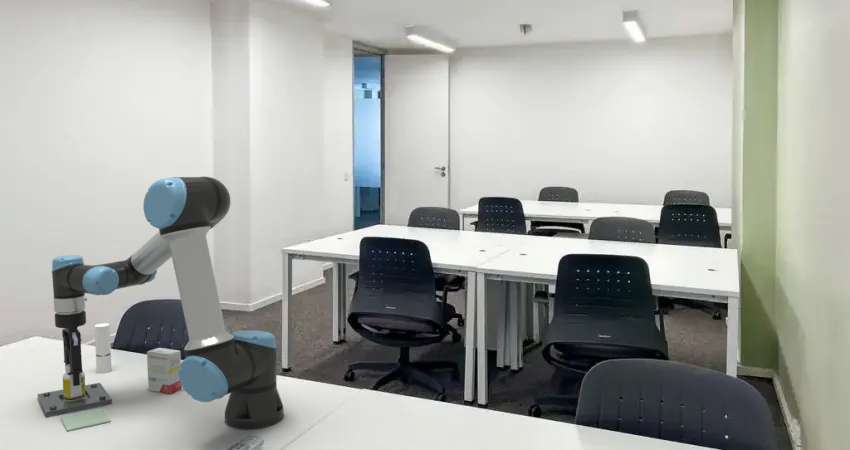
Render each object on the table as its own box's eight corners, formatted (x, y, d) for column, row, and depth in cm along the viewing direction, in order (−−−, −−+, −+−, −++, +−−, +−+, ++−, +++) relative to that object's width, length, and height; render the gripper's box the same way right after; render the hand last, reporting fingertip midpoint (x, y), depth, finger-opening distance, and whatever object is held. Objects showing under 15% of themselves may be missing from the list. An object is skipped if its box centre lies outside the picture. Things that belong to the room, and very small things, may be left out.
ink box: (182, 388, 190) (181, 349, 189) (171, 394, 186) (169, 354, 184) (159, 384, 193) (158, 346, 192) (147, 390, 189) (146, 351, 187)
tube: (96, 369, 206) (94, 324, 204) (111, 368, 208) (109, 322, 206) (96, 373, 202) (94, 327, 200) (111, 372, 204) (109, 326, 202)
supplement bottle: (76, 403, 176) (74, 368, 175) (59, 401, 177) (57, 367, 176) (90, 396, 182) (88, 362, 181) (73, 394, 183) (71, 361, 182)
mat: (110, 422, 166) (110, 420, 166) (67, 431, 160) (67, 430, 160) (102, 409, 174) (102, 408, 174) (60, 418, 168) (60, 417, 168)
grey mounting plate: (112, 403, 178) (111, 397, 178) (45, 417, 168) (45, 410, 168) (100, 387, 191) (99, 381, 190) (37, 398, 181) (37, 392, 181)
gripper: (91, 315, 172) (96, 399, 174) (79, 303, 186) (83, 381, 189) (60, 320, 167) (64, 406, 170) (49, 307, 182) (54, 386, 184)
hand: (74, 392), depth 179 cm, fingers closed on supplement bottle, 5 cm apart
